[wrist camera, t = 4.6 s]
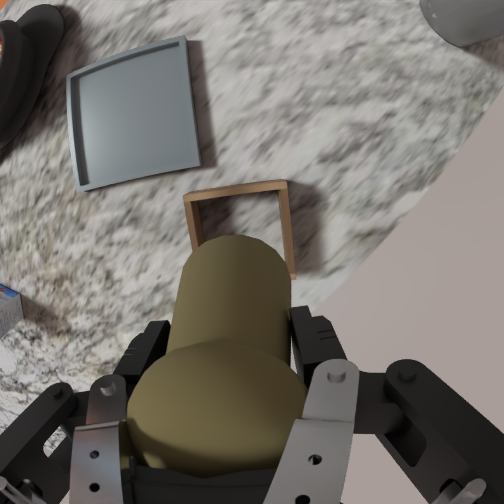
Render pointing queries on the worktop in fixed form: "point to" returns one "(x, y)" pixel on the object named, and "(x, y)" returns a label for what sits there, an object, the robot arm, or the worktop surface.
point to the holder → (194, 196)
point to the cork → (222, 367)
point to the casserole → (25, 64)
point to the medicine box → (9, 309)
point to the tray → (132, 115)
